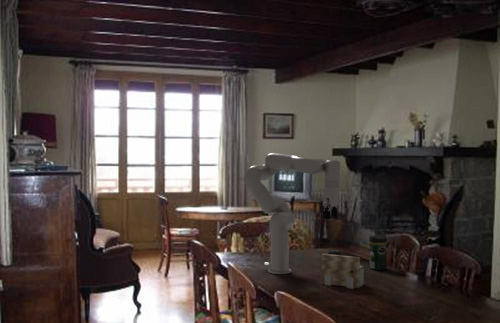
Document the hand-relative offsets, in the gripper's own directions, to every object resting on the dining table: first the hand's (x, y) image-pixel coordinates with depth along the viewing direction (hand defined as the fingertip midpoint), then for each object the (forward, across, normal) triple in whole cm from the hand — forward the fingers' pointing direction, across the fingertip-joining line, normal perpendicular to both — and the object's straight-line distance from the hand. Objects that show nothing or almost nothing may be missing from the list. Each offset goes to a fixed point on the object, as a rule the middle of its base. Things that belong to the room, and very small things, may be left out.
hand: (330, 217), depth 270 cm
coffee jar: (+30, -34, +15) cm, 48 cm away
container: (+31, -5, +2) cm, 31 cm away
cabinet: (+30, +10, +11) cm, 34 cm away
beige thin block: (+30, +13, +11) cm, 34 cm away
